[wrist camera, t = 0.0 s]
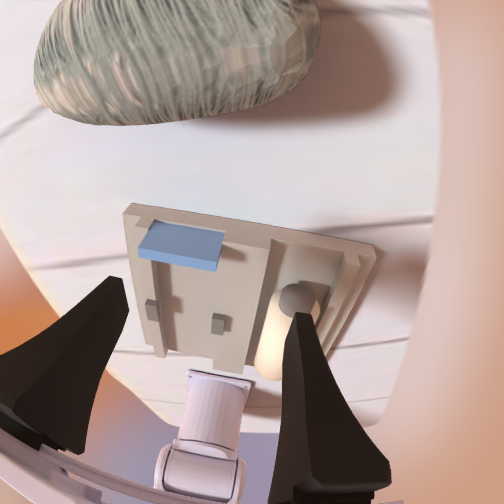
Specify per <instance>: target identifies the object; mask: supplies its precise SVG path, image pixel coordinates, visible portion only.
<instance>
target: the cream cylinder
mask: <svg viewBox="0 0 504 504" xmlns="http://www.w3.org/2000/svg"><path fill="white" fill-rule="evenodd" d="M295 312H302V313H308V314H311V315H312V317H313V321H314V325H315V323H316V321H317V319H318V316H319V314H320V306H319V303H318V301H317V300H316V297H315V294H314V292H313V291H312V290H311V289H310V288H308V287H307V286H305V285H302V284H297V283H293V284H288V285H286V286H285V287H284V288H282V289H279V290H277V291H276V292H275V293H274V294H273V295H272V297H271V299H270V303H269V307H268V311H267V315H266V318H265V322H264V326H263V330H262V334H261V337H260V341H259V345H258V348H257V352H256V356H255V360H254V365H255V368H256V370H257V372H258V373H259V374H260V375H261V376H262V377H264V378H266V379H268V380H272V381H280V380H282V361H283V352H284V343H285V339H286V336H287V334H288V331H289V328H290V326H291V323H292V320H293V317H294V315H295Z"/></svg>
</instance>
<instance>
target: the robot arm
mask: <svg viewBox="0 0 504 504" xmlns="http://www.w3.org/2000/svg"><path fill="white" fill-rule="evenodd" d="M128 313H129V307H128V303H127V298H126V294H125V289H124V285H123V280H122V278H118V277H114V276H109V277H108V278H106V279H105V280H104V281H103V282H102V283H101V284H99V285H98V286H97V287H96V288H95V289H94V290H93V291H92V292H90V293H89V294H88V295H87V296H86V297H85V298H84V299H82V300H81V301H80V302H79V303H78V304H77V305H76V306H74V307H73V308H72V309H71V310H70V311H69V312H67V313H66V314H65V315H64V316H62V317H61V318H60V319H59V320H57V321H56V322H55V323H54V324H52V325H51V326H50V327H48V328H47V329H45V330H44V331H42V332H41V333H40V334H38V335H36V336H35V337H33V338H32V339H30V340H28V341H27V342H25V343H23V344H22V345H20V346H18V347H16V348H14V349H12V350H10V351H8V352H6V353H4V354H2V355H0V478H1V479H2V480H3V481H4V482H6V483H7V484H8V485H9V486H11V487H12V488H13V489H15V490H16V491H17V492H19V493H20V494H21V495H23V496H24V497H26V498H27V499H28V500H30V501H31V502H33V503H34V504H109V503H107V502H104V501H101V496H102V491H100V490H97V489H95V488H93V487H90V486H88V485H86V484H83V483H81V482H79V481H76V480H74V479H72V478H70V477H69V476H68V473H67V471H69V472H71V473H73V474H75V475H78V476H80V477H82V478H84V479H87V480H89V481H92V482H94V483H96V484H99V485H101V486H104V487H106V488H109V489H112V490H115V491H117V492H120V493H123V494H126V495H129V496H132V497H135V498H138V499H141V500H144V501H148V502H151V503H155V504H224V503H225V504H240V501H241V498H242V494H243V490H244V484H245V476H246V463H245V462H244V461H243V459H242V458H238V459H237V456H238V452H237V444H238V438H239V432H240V425H241V419H242V412H243V410H244V408H245V404H246V401H247V398H248V395H249V391H250V388H251V382H249V381H243V380H237V379H232V378H226V377H221V376H215V375H210V374H205V373H200V372H196V371H191V370H188V371H187V373H186V375H187V385H188V397H187V401H186V405H185V409H184V413H183V417H182V421H181V425H180V429H179V434H178V437H177V440H176V439H174V441H173V445H171V444H167V445H166V446H165V447H163V448H162V449H161V451H160V453H159V456H158V460H157V464H156V468H155V475H154V487H153V488H151V487H148V486H144V485H141V484H137V483H134V482H132V481H128V480H125V479H123V478H119V477H117V476H114V475H112V474H109V473H106V472H103V471H101V470H98V469H96V468H94V467H91V466H89V465H86V464H84V463H82V462H79V461H77V460H75V459H73V458H71V457H68V456H66V455H64V454H62V453H60V452H58V449H60V450H62V451H66V450H68V451H70V452H72V453H74V454H77V455H80V454H82V453H84V451H85V443H86V436H87V430H88V424H89V419H90V415H91V410H92V406H93V402H94V399H95V395H96V392H97V388H98V385H99V382H100V379H101V376H102V374H103V371H104V369H105V367H106V365H107V363H108V360H109V358H110V356H111V354H112V352H113V350H114V348H115V346H116V343H117V341H118V339H119V337H120V335H121V333H122V330H123V328H124V325H125V322H126V319H127V316H128ZM66 470H67V471H66ZM391 483H392V481H391V469H390V464H389V461H388V460H387V459H386V457H385V456H384V455H383V454H382V453H381V452H380V450H379V449H378V448H377V447H376V446H375V444H374V443H373V442H372V440H371V439H370V438H369V436H368V435H367V434H366V433H365V431H364V430H363V428H362V426H361V425H360V424H359V422H358V421H357V419H356V418H355V416H354V414H353V413H352V411H351V409H350V408H349V406H348V404H347V403H346V401H345V399H344V397H343V395H342V393H341V391H340V389H339V387H338V385H337V383H336V381H335V379H334V377H333V374H332V372H331V370H330V367H329V365H328V362H327V360H326V357H325V355H324V352H323V349H322V347H321V344H320V341H319V338H318V335H317V331H316V328H315V325H314V321H313V317H312V315H311V314H308V313H302V312H295V315H294V317H293V320H292V323H291V326H290V328H289V331H288V334H287V336H286V339H285V343H284V352H283V361H282V417H281V426H280V435H279V442H278V449H277V455H276V462H275V467H274V473H273V478H272V483H271V488H270V494H269V498H268V504H371V500H372V499H374V491H376V490H379V489H382V488H385V487H387V486H389V485H390V484H391ZM170 492H172V493H170ZM174 493H177V494H181V495H177V494H174ZM182 495H185V496H182ZM187 496H190V497H187ZM191 497H195V498H191ZM196 498H199V499H196ZM201 499H205V500H201ZM206 500H210V501H206ZM212 501H216V502H212ZM218 502H222V503H218ZM381 504H403V501H395V502H388V503H381Z"/></svg>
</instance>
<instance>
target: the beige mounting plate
mask: <svg viewBox="0 0 504 504" xmlns="http://www.w3.org/2000/svg"><path fill="white" fill-rule="evenodd" d="M123 221H124V229H125V237H126V244H127V250H128V257H129V263H130V269H131V275H132V281H133V286H134V291H135V296H136V301H137V306H138V311H139V316H140V320H141V325H142V329H143V334H144V338H145V342H146V344H149V345H153V346H154V350H155V355H156V356H157V357H161V358H165V357H166V354H167V351H168V349H169V350H174V351H178V352H182V353H187V354H191V355H196V356H201V357H206V358H211V359H213V369H215V370H221V371H226V372H232V373H237V374H242V373H243V369H244V365H250V366H255V365H254V360H255V356H256V352H257V348H258V345H259V341H260V337H261V334H262V330H263V326H264V322H265V318H266V315H267V311H268V307H269V303H270V299H271V297H272V295H273V294H274V293H275V292H276V291H277V290H279V289H282V288H284V287H285V286H286V285H288V284H293V283H297V284H302V285H305V286H307V287H308V288H310V289H311V290H312V291H313V292H314V294H315V297H316V300H317V301H318V303H319V306H320V314H319V316H318V319H317V321H316V323H315V328H316V331H317V335H318V338H319V341H320V344H321V347H322V349H323V352H324V355H325V356H326V354H327V353H328V351H329V349H330V348H331V346H332V344H333V342H334V341H335V339H336V337H337V335H338V333H339V332H340V330H341V328H342V326H343V324H344V323H345V321H346V319H347V317H348V315H349V313H350V311H351V310H352V308H353V306H354V304H355V302H356V300H357V298H358V296H359V294H360V292H361V290H362V288H363V286H364V284H365V282H366V280H367V278H368V276H369V274H370V272H371V270H372V268H373V266H374V263H375V261H376V259H377V256H376V253H375V250H374V247H373V245H370V244H366V243H361V242H355V241H350V240H345V239H340V238H335V237H330V236H325V235H319V234H314V233H309V232H303V231H298V230H292V229H287V228H281V227H276V226H270V225H264V224H259V223H253V222H247V221H241V220H235V219H230V218H224V217H217V216H211V215H205V214H199V213H193V212H186V211H180V210H174V209H167V208H160V207H154V206H147V205H140V204H133V203H131V204H130V205H129V207H128V208H127V209H126V210H125V211H124V213H123Z"/></svg>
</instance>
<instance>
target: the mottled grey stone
mask: <svg viewBox="0 0 504 504" xmlns="http://www.w3.org/2000/svg"><path fill="white" fill-rule="evenodd" d="M320 29H321V24H320V15H319V11H318V6H317V1H316V0H62V1H61V2H60V3H59V5H58V6H57V8H56V9H55V11H54V12H53V14H52V15H51V17H50V19H49V21H48V22H47V24H46V26H45V28H44V30H43V33H42V35H41V38H40V41H39V44H38V47H37V50H36V55H35V60H34V85H35V90H36V94H37V96H38V98H39V100H40V101H41V102H42V103H43V105H44V106H46V107H49V108H51V110H52V111H53V112H54V113H57V114H59V115H62V116H63V117H66V118H69V119H72V120H75V121H79V122H82V123H86V124H93V125H115V126H126V125H148V124H159V123H166V122H174V121H182V120H189V119H194V118H200V117H208V116H213V115H218V114H224V113H230V112H234V111H239V110H244V109H250V108H256V107H258V106H261V105H263V104H266V103H268V102H270V101H272V100H274V99H277V98H279V97H281V96H283V95H285V94H287V93H288V92H290V91H291V90H292V89H293V88H294V87H295V86H296V85H297V84H298V83H299V82H300V81H302V80H303V78H304V77H305V75H306V74H307V72H308V70H309V68H310V66H311V63H312V61H313V59H314V57H315V55H316V51H317V47H318V43H319V40H320Z"/></svg>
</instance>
